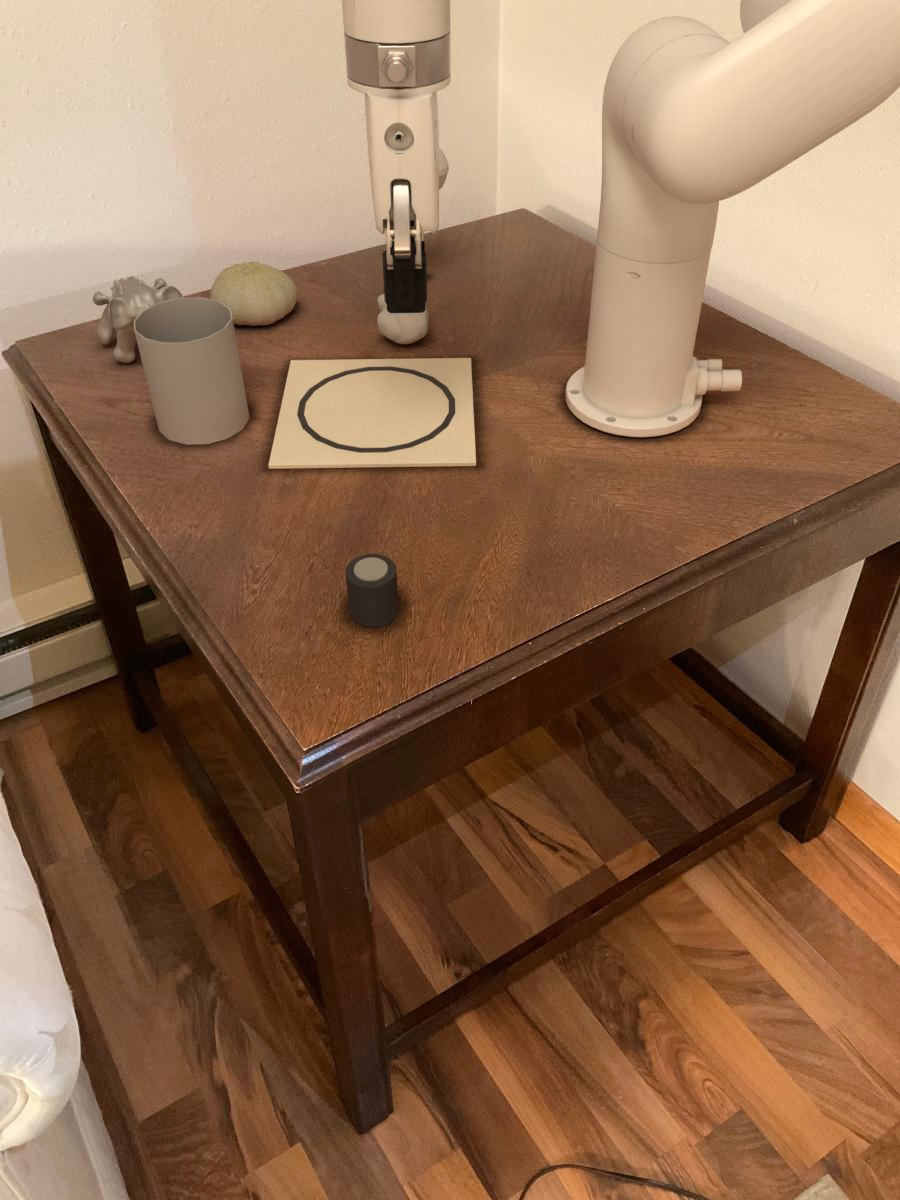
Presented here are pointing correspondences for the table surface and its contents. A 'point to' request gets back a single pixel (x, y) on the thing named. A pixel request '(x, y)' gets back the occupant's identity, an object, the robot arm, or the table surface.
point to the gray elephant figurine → (128, 311)
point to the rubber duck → (401, 324)
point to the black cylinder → (423, 261)
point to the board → (376, 414)
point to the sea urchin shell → (255, 293)
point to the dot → (372, 590)
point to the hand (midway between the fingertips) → (406, 297)
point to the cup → (192, 369)
